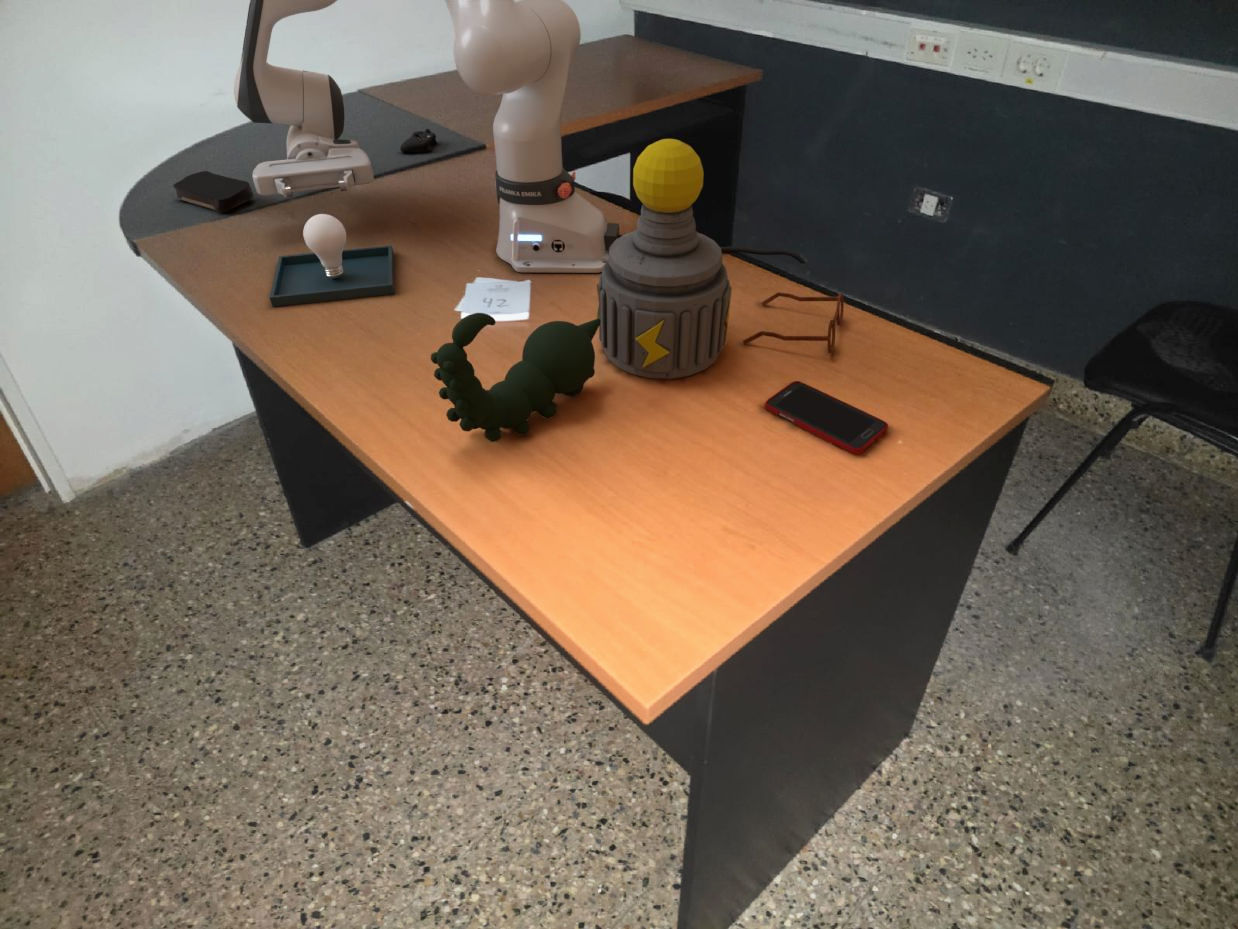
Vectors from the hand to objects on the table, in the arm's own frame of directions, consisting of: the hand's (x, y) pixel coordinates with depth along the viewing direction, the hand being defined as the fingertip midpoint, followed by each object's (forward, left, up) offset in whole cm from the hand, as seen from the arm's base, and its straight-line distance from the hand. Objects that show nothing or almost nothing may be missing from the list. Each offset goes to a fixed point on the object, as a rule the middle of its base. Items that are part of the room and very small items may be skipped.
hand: (316, 189), depth 136 cm
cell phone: (-88, +33, -11) cm, 95 cm away
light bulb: (-6, +10, -11) cm, 16 cm away
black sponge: (+34, -16, -11) cm, 39 cm away
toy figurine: (-50, +40, -11) cm, 65 cm away
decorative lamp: (-64, +20, -11) cm, 68 cm away
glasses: (-83, +11, -11) cm, 85 cm away
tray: (-6, +10, -11) cm, 16 cm away
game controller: (+6, -54, -11) cm, 55 cm away
